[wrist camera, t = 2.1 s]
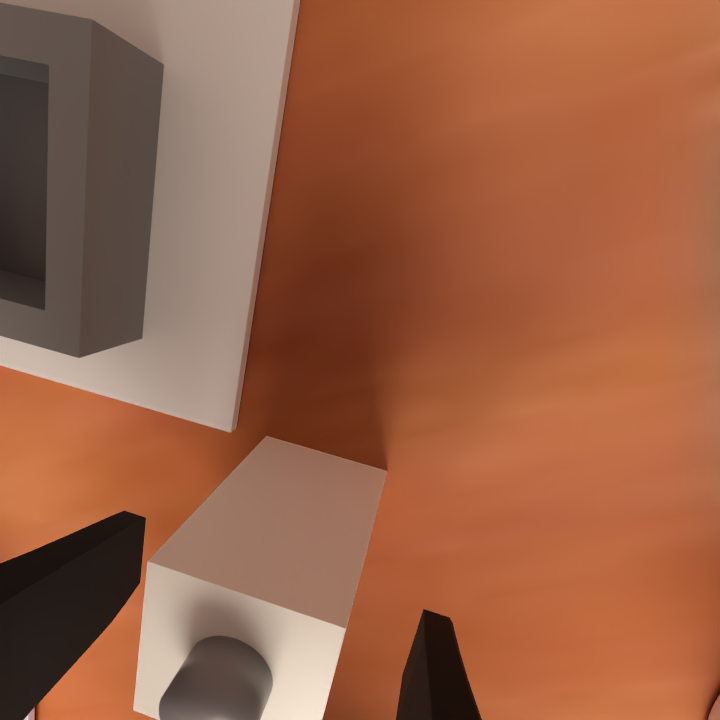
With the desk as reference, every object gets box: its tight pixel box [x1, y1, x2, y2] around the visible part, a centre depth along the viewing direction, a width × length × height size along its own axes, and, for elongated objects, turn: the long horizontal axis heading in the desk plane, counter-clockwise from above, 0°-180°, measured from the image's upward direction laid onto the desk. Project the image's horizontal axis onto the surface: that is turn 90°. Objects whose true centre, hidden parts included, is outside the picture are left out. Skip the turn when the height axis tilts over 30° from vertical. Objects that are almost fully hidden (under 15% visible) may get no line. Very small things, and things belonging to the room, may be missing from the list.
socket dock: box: [0, 0, 300, 433], centre depth 12 cm, size 12×14×3 cm
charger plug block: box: [133, 436, 388, 720], centre depth 11 cm, size 4×4×7 cm
